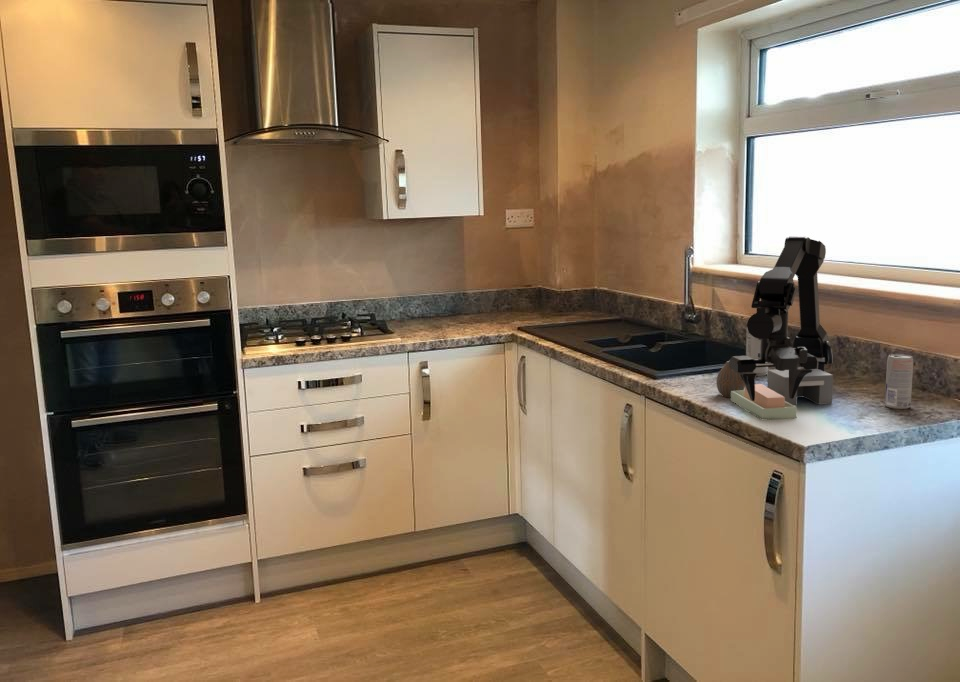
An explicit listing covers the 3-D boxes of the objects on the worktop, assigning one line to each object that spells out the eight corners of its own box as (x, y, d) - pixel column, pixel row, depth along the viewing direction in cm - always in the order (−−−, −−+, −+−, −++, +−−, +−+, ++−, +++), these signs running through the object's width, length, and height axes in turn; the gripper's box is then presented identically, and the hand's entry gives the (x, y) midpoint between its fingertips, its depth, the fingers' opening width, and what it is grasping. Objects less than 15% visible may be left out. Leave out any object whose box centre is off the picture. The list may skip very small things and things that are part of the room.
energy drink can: (765, 377, 223) (766, 323, 220) (743, 375, 226) (744, 322, 223) (770, 372, 228) (771, 320, 225) (748, 371, 231) (749, 319, 228)
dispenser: (767, 397, 200) (767, 369, 199) (813, 394, 201) (814, 367, 200) (784, 406, 191) (785, 377, 189) (833, 404, 192) (834, 375, 190)
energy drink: (902, 403, 190) (905, 353, 188) (915, 408, 185) (918, 357, 183) (880, 404, 190) (882, 354, 188) (892, 409, 185) (895, 358, 183)
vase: (710, 394, 205) (711, 361, 203) (732, 391, 207) (732, 358, 206) (728, 400, 198) (729, 365, 197) (750, 397, 201) (751, 362, 200)
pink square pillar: (744, 400, 196) (744, 384, 195) (760, 399, 196) (760, 383, 195) (767, 415, 182) (767, 397, 181) (784, 414, 182) (784, 397, 181)
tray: (730, 400, 198) (730, 390, 197) (761, 399, 198) (762, 389, 198) (762, 419, 180) (762, 408, 180) (796, 417, 181) (796, 407, 180)
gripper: (749, 339, 172) (747, 410, 175) (832, 336, 174) (829, 406, 177) (728, 332, 183) (727, 398, 186) (807, 328, 185) (804, 394, 187)
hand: (772, 399), depth 184 cm, fingers open, 9 cm apart
